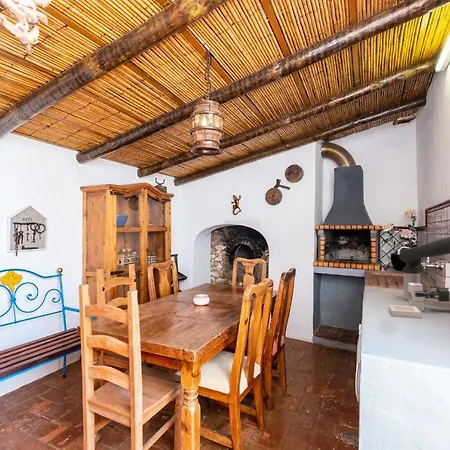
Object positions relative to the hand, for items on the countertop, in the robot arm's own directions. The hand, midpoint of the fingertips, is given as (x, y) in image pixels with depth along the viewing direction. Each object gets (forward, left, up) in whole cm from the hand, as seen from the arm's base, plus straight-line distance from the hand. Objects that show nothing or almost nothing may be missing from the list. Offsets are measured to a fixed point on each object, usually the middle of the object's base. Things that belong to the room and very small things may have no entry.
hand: (413, 293), depth 169 cm
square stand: (+13, -7, -9) cm, 18 cm away
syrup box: (0, +1, -9) cm, 9 cm away
